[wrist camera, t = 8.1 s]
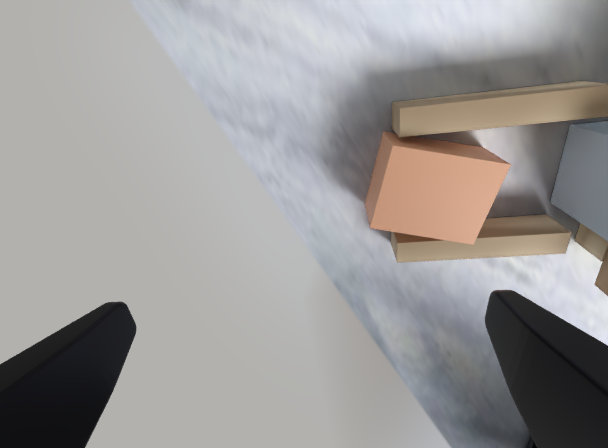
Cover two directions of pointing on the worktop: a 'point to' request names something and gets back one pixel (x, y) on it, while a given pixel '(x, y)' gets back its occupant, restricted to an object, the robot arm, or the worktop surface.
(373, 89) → the worktop surface
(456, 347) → the worktop surface
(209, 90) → the worktop surface
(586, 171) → the pale blue channel
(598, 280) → the tan wooden block
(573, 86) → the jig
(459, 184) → the salmon pink cuboid
